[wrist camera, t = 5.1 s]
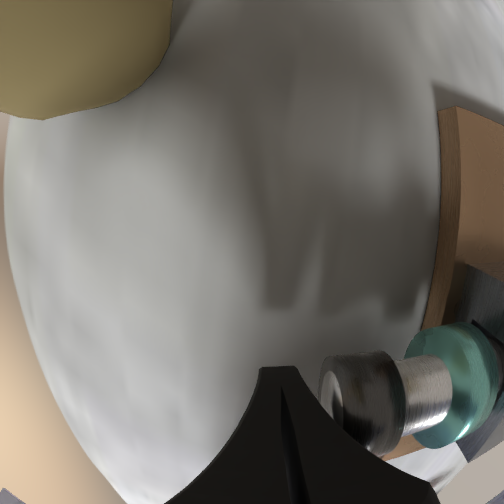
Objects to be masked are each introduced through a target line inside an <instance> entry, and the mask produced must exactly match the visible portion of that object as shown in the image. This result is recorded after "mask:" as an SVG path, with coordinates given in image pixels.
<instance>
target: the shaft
mask: <svg viewBox="0 0 504 504" xmlns="http://www.w3.org/2000/svg"><path fill="white" fill-rule="evenodd" d="M503 392H504V344H503V343H502V342H501V341H500V340H498V339H497V338H496V337H495V336H494V335H491V336H488V337H486V336H485V335H484V333H483V332H482V331H481V330H480V329H478V328H477V327H475V326H474V325H472V324H470V323H466V322H457V323H452V324H447V325H443V326H438V327H433V328H427V329H424V330H422V331H421V332H419V333H418V334H417V335H416V336H415V337H414V338H413V340H412V341H411V343H410V344H409V346H408V348H407V351H406V354H405V356H404V359H402V360H397V361H393V360H392V358H391V357H390V356H389V355H388V354H387V353H385V352H384V351H381V350H376V351H369V352H362V353H354V354H345V355H336V356H328V357H327V358H326V359H325V360H324V362H323V365H322V368H321V373H320V379H319V390H318V402H319V403H320V404H321V406H322V407H323V408H324V409H325V410H326V412H327V413H328V414H329V415H330V416H331V417H332V418H333V419H334V421H335V422H336V423H337V424H338V425H339V426H340V427H341V428H342V429H343V430H344V431H345V432H347V433H348V434H349V435H350V436H351V437H352V438H353V439H354V440H356V441H357V442H358V443H359V444H361V445H362V446H363V447H364V448H366V449H367V450H369V451H370V452H372V453H373V454H375V455H376V456H378V457H379V456H383V455H386V454H389V453H390V452H392V451H393V450H394V449H395V448H396V446H397V445H398V443H399V441H400V439H401V437H404V436H407V435H410V434H412V435H413V437H414V438H415V439H416V440H417V441H418V442H419V443H420V444H421V445H423V446H425V447H427V448H430V449H437V448H441V447H444V446H446V445H448V444H450V443H453V442H455V441H457V440H459V439H461V438H463V437H465V436H467V435H469V434H471V433H472V432H474V431H476V430H477V429H478V428H479V427H480V426H481V425H482V424H483V423H484V422H485V421H486V419H487V418H488V416H489V415H490V413H491V411H492V409H493V406H494V404H495V400H496V397H497V396H499V395H500V394H502V393H503Z"/></svg>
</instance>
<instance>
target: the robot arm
mask: <svg viewBox="0 0 504 504" xmlns="http://www.w3.org/2000/svg"><path fill="white" fill-rule="evenodd" d="M0 504H25V503H24V502H22V501H21V500H20V499H18V498H17V497H15V496H14V495H13V494H12V493H10V492H9V491H8V490H6V489H5V488H3V489H2V490H1V492H0ZM164 504H440V502H439V499H438V497H437V495H436V493H435V491H434V489H433V488H432V486H431V485H430V483H429V482H427V481H425V480H422V479H420V478H417V477H415V476H412V475H410V474H408V473H405V472H403V471H401V470H399V469H398V468H396V467H394V466H392V465H390V464H388V463H387V462H385V461H384V460H382V459H381V458H379V457H378V456H376V455H375V454H373V453H372V452H370V451H369V450H367V449H366V448H364V447H363V446H362V445H361V444H359V443H358V442H357V441H356V440H354V439H353V438H352V437H351V436H350V435H349V434H348V433H347V432H345V431H344V430H343V429H342V428H341V427H340V426H339V425H338V424H337V423H336V422H335V421H334V419H333V418H332V417H331V416H330V415H329V414H328V413H327V412H326V410H325V409H324V408H323V407H322V406H321V404H320V403H319V402H318V400H317V399H316V398H315V396H314V395H313V394H312V392H311V391H310V389H309V388H308V386H307V385H306V383H305V382H304V380H303V378H302V377H301V375H300V373H299V371H298V369H297V368H296V367H295V366H278V367H262V368H260V369H259V375H258V380H257V384H256V387H255V390H254V393H253V395H252V397H251V400H250V402H249V405H248V407H247V409H246V411H245V413H244V415H243V417H242V418H241V420H240V422H239V424H238V426H237V427H236V429H235V431H234V432H233V434H232V435H231V437H230V438H229V440H228V441H227V443H226V444H225V445H224V447H223V448H222V449H221V451H220V452H219V453H218V454H217V456H216V457H215V458H214V459H213V460H212V462H211V463H210V464H209V465H208V466H207V467H206V468H205V469H204V470H203V471H202V472H201V473H200V474H199V475H198V476H197V477H196V478H195V479H194V480H193V481H192V482H191V483H190V484H189V485H188V486H187V487H185V488H184V489H183V490H182V491H180V492H179V493H178V494H177V495H175V496H174V497H173V498H171V499H170V500H169V501H167V502H166V503H164ZM486 504H504V490H503V491H502V492H501V493H500V494H498V495H497V496H496V497H494V498H493V499H492V500H490V501H489V502H487V503H486Z"/></svg>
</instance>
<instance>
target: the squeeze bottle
mask: <svg viewBox="0 0 504 504" xmlns="http://www.w3.org/2000/svg"><path fill="white" fill-rule="evenodd" d="M172 4H173V0H0V112H3V113H7V114H10V115H13V116H16V117H19V118H28V119H37V120H45V119H49V118H53V117H56V116H60V115H64V114H69V113H73V112H77V111H82V110H87V109H92V108H97V107H100V106H103V105H107V104H110V103H113V102H117V101H119V100H120V99H122V98H123V97H125V96H126V95H128V94H129V93H131V92H132V91H134V90H135V89H137V88H138V87H140V86H141V85H142V84H143V83H144V82H145V80H146V79H147V78H148V77H149V76H150V75H151V74H152V73H153V72H154V71H155V69H156V68H157V67H158V66H159V64H160V62H161V60H162V58H163V56H164V54H165V52H166V50H167V48H168V46H169V42H170V27H171V15H172Z"/></svg>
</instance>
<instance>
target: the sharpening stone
mask: <svg viewBox="0 0 504 504" xmlns="http://www.w3.org/2000/svg"><path fill="white" fill-rule="evenodd" d="M437 112H438V121H439V131H440V145H441V210H440V225H439V236H438V245H437V253H436V260H435V267H434V273H433V279H432V285H431V290H430V295H429V300H428V304H427V309H426V313H425V317H424V321H423V325H422V329H421V331H422V330H424V329H427V328H433V327H438V326H443V325H447V324H452V323H457V322H466V323H470V324H472V325H474V326H475V327H477V328H478V329H480V330H481V331H482V332H483V333H484V335H485V336H486V337H488V336H491V335H494V336H495V337H496V338H497V339H498V340H500V341H501V342H502V343H503V344H504V126H503V125H501V124H498V123H496V122H494V121H492V120H490V119H487V118H485V117H483V116H481V115H478V114H476V113H473V112H471V111H468V110H466V109H463V108H460V107H457V106H454V107H450V108H447V109H444V110H440V111H437ZM503 440H504V392H503V393H502V394H500V395H499V396H497V397H496V400H495V404H494V406H493V409H492V411H491V413H490V415H489V416H488V418H487V419H486V421H485V422H484V423H483V424H482V425H481V426H480V427H479V428H478V429H477V430H476V431H474V432H472V433H471V434H469V435H467V436H465V437H463V438H461V439H459V440H457V441H456V443H457V445H458V446H459V448H460V450H461V451H462V453H463V455H464V456H465V458H466V460H467V462H468V463H469V462H471V461H472V460H474V459H476V458H477V457H479V456H481V455H482V454H484V453H486V452H487V451H489V450H490V449H492V448H493V447H495V446H496V445H498V444H499V443H500V442H502V441H503ZM423 448H426V447H425V446H423V445H421V444H420V443H419V442H418V441H417V440H416V439H415V438H414V437H413V435H412V434H410V435H407V436H404V437H401V439H400V441H399V443H398V445H397V446H396V448H395V449H394V450H393V451H392V452H390V453H389V454H386V455H383V456H379V458H381V459H382V460H384V461H387V460H390V459H394V458H397V457H400V456H403V455H406V454H409V453H412V452H415V451H418V450H420V449H423Z"/></svg>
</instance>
